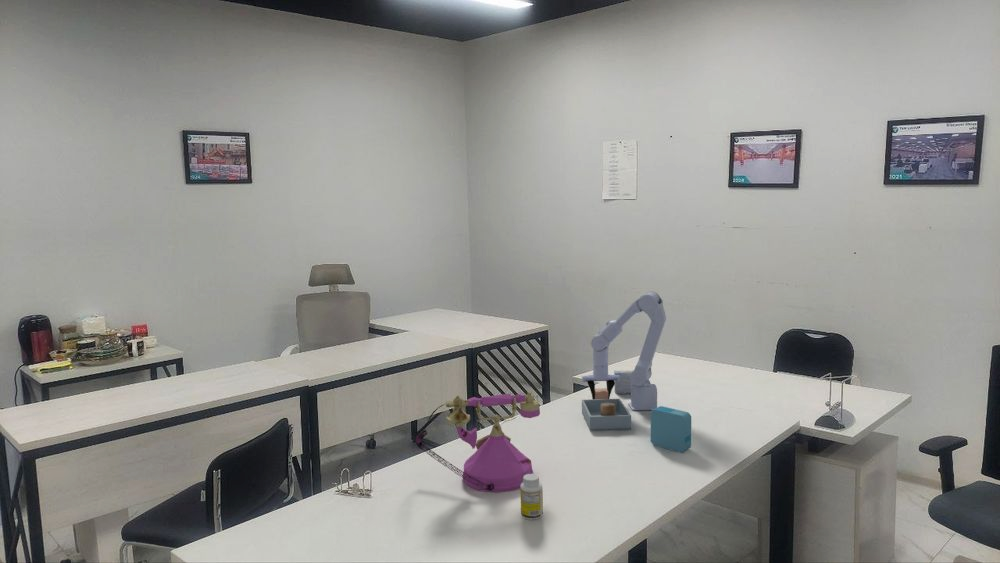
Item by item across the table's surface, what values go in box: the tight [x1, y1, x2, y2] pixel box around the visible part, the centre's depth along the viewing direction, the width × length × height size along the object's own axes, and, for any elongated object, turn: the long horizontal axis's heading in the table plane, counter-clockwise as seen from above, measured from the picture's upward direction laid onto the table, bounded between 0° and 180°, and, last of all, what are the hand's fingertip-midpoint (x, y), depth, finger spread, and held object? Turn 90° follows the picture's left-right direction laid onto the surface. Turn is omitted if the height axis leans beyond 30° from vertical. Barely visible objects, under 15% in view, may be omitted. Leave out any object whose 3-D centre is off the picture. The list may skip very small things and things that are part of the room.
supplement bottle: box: [519, 473, 544, 521], centre depth 161 cm, size 6×6×10 cm
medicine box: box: [613, 369, 633, 394], centre depth 263 cm, size 8×4×9 cm, turn 84°
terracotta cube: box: [595, 387, 608, 399], centre depth 250 cm, size 5×5×5 cm
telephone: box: [415, 391, 541, 493], centre depth 181 cm, size 36×22×25 cm, turn 100°
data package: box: [650, 405, 692, 454], centre depth 203 cm, size 12×4×12 cm, turn 45°
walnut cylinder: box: [601, 403, 615, 416], centre depth 224 cm, size 5×5×7 cm
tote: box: [581, 398, 632, 432], centre depth 229 cm, size 14×19×5 cm
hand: (600, 399), depth 250 cm, fingers closed on terracotta cube, 5 cm apart
